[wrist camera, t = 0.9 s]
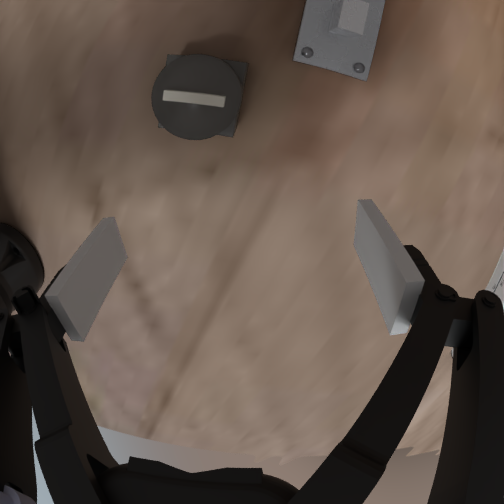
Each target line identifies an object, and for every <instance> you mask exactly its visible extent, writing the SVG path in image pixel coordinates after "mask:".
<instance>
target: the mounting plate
mask: <svg viewBox="0 0 504 504" xmlns="http://www.w3.org/2000/svg"><path fill="white" fill-rule="evenodd" d="M384 4H385V0H306V2H305V6H304V10H303V15H302V19H301V24H300V28H299V32H298V37H297V41H296V46H295V50H294V54H293V59H292V61H296V62H300V63H304V64H308V65H312V66H316V67H320V68H324V69H327V70H331V71H334V72H337V73H341V74H344V75H347V76H350V77H354V78H357V79H360V80H363V81H367V78H368V74H369V70H370V66H371V62H372V58H373V54H374V49H375V45H376V41H377V36H378V32H379V27H380V23H381V18H382V14H383V9H384Z"/></svg>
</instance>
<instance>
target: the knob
mask: <svg viewBox="0 0 504 504" xmlns="http://www.w3.org/2000/svg"><path fill="white" fill-rule="evenodd" d="M248 65H249V64H248V63H245V62H238V61H231V60H224V59H219V58H216V57H213V56H209V55H203V54H192V55H187V56H185V55H170V54H168V55H167V61H166V67H165V68H164V69H163V70H162V71H161V72H160V74H159V75H158V77H157V79H156V81H155V83H154V86H153V90H152V107H153V111H154V113H155V116H156V118H157V120H158V121H159V124H158V128H165V129H166V130H167V131H169V132H170V133H172V134H173V135H175V136H177V137H180V138H183V139H188V140H202V139H207V138H210V137H213V136H215V135H221V136H228V137H233V136H234V133H235V130H236V127H237V121H238V116H239V111H240V106H241V102H242V96H243V90H244V85H245V80H246V75H247V70H248Z"/></svg>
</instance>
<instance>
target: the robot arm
mask: <svg viewBox="0 0 504 504" xmlns="http://www.w3.org/2000/svg"><path fill="white" fill-rule="evenodd" d="M354 247H355V249H356V251H357V254H358V256H359V258H360V261H361V263H362V265H363V268H364V270H365V272H366V275H367V277H368V279H369V282H370V284H371V287H372V289H373V292H374V294H375V297H376V299H377V302H378V304H379V307H380V310H381V312H382V315H383V318H384V320H385V323H386V326H387V328H388V331H389V334H390V335H395V334H402V333H407V331H408V328H409V325H410V323H411V325H412V327H411V329H410V331H409V333H408V335H407V337H406V339H405V341H404V343H403V345H402V346H401V348H400V350H399V352H398V354H397V356H396V357H395V359H394V361H393V363H392V365H391V366H390V368H389V370H388V372H387V373H386V375H385V377H384V378H383V380H382V382H381V383H380V385H379V387H378V388H377V390H376V391H375V393H374V395H373V396H372V398H371V399H370V401H369V402H368V404H367V406H366V407H365V409H364V410H363V412H362V413H361V415H360V416H359V418H358V419H357V420H356V422H355V423H354V425H353V426H352V428H351V429H350V430H349V432H348V433H347V435H346V436H345V437H344V439H343V440H342V441H341V442H340V443H338V445H337V446H336V447H335V448H334V449H333V451H332V452H331V453H330V454H329V456H328V457H327V458H326V460H325V461H324V462H323V463H322V464H321V466H320V467H319V468H318V470H317V471H316V472H315V473H314V474H313V475H312V476H311V478H310V479H309V480H308V481H307V482H306V483H305V484H304V486H303V487H302V488H301V489H300V490H298V489H297V488H295V487H294V486H293V485H291V484H289V483H288V482H286V481H283V480H281V479H279V478H276V477H273V476H270V475H265V474H263V471H262V468H222V469H216V470H210V471H204V472H197V473H189V472H186V471H183V470H180V469H177V468H174V467H172V466H169V465H167V464H164V463H162V462H159V461H153V460H147V459H141V458H136V457H131V456H130V458H129V462H128V463H126V464H121V465H119V464H118V463H117V462H116V461H115V459H114V458H113V457H112V455H111V454H110V452H109V450H108V448H107V446H106V444H105V442H104V440H103V438H102V435H101V434H100V431H99V429H98V427H97V425H96V422H95V420H94V418H93V415H92V413H91V411H90V408H89V406H88V403H87V401H86V399H85V396H84V393H83V391H82V388H81V386H80V383H79V380H78V377H77V374H76V372H75V369H74V366H73V363H72V360H71V357H70V354H69V350H68V347H67V344H66V342H65V340H64V339H63V336H64V334H65V332H66V333H67V334H68V336H69V337H70V339H71V340H73V341H83V342H84V340H85V338H86V336H87V334H88V332H89V330H90V328H91V326H92V324H93V322H94V320H95V318H96V316H97V314H98V312H99V310H100V308H101V306H102V304H103V302H104V300H105V298H106V296H107V294H108V292H109V290H110V288H111V287H112V285H113V283H114V281H115V279H116V277H117V276H118V274H119V272H120V270H121V268H122V267H123V265H124V263H125V261H126V259H127V258H128V257H127V254H126V251H125V248H124V245H123V242H122V239H121V236H120V233H119V230H118V226H117V223H116V220H115V217H108V218H103V219H102V220H101V221H100V223H99V224H98V225H97V226H96V227H95V229H94V230H93V231H92V232H91V234H90V235H89V236H88V237H87V239H86V240H85V241H84V242H83V244H82V245H81V246H80V247H79V249H78V250H77V251H76V253H75V254H74V255H73V257H72V258H71V259H70V260H69V262H68V263H67V264H66V265H65V266H64V267H63V268H61V269H60V270H59V271H58V273H57V274H56V275H55V277H54V279H53V280H52V281H51V282H50V284H49V285H48V287H47V288H46V289H45V291H44V292H43V294H42V295H41V297H40V298H38V296H37V292H38V291H39V289H40V288H41V286H42V284H43V278H44V277H43V269H42V266H41V263H40V260H39V258H38V256H37V254H36V252H35V251H34V249H33V248H32V246H31V245H30V243H29V242H28V241H27V240H26V239H25V238H24V237H23V236H22V235H21V234H20V233H19V232H18V231H17V230H15V229H14V228H12V227H10V226H8V225H6V224H2V223H0V504H37V484H36V474H35V464H34V453H33V437H32V408H33V412H34V416H35V420H36V424H37V428H38V432H39V435H40V439H39V440H37V441H36V442H35V444H34V445H35V451H36V454H37V457H38V461H39V464H40V467H41V470H42V473H43V475H44V478H45V481H46V484H47V487H48V489H49V492H50V495H51V497H52V499H53V502H54V504H363V502H364V501H365V500H366V498H367V497H368V495H369V494H370V492H371V491H372V490H373V488H374V487H375V485H376V484H377V482H378V481H379V479H380V478H381V476H382V475H383V473H384V471H385V469H386V465H387V463H388V461H389V459H390V458H391V456H392V454H393V453H394V451H395V449H396V448H397V446H398V444H399V442H400V441H401V439H402V437H403V435H404V433H405V432H406V430H407V428H408V426H409V424H410V422H411V420H412V418H413V416H414V414H415V412H416V410H417V408H418V406H419V404H420V402H421V400H422V398H423V396H424V394H425V392H426V389H427V387H428V385H429V383H430V380H431V378H432V376H433V373H434V371H435V368H436V366H437V364H438V361H439V359H440V356H441V353H442V351H443V348H444V346H449V347H453V365H452V378H451V389H450V398H449V406H448V413H447V420H446V426H445V432H444V438H443V443H442V448H441V453H440V458H439V462H438V466H437V470H436V474H435V478H434V482H433V486H432V489H431V493H430V496H429V499H428V503H427V504H504V309H503V304H502V301H501V299H500V298H499V297H498V296H497V295H496V294H495V293H493V292H491V291H488V290H481V291H478V293H477V294H476V296H475V298H474V299H469V298H462V297H459V296H458V293H457V292H456V291H455V290H454V289H453V288H452V287H450V286H448V285H445V284H441V282H440V281H439V279H438V278H437V276H436V274H435V273H434V271H433V270H432V268H431V267H430V266H429V264H428V262H427V261H426V260H425V258H424V256H423V255H422V253H421V252H420V251H419V250H418V249H417V248H415V247H414V246H413V245H403V244H402V243H401V241H400V240H399V238H398V237H397V235H396V234H395V232H394V231H393V229H392V228H391V226H390V225H389V223H388V222H387V220H386V219H385V218H384V216H383V215H382V213H381V212H380V210H379V209H378V208H377V206H376V205H375V203H374V202H373V201H372V199H367V200H358V205H357V216H356V227H355V237H354ZM15 309H16V311H17V312H18V314H16V315H11V313H12V312H13V311H14V310H15ZM9 352H10V353H11V357H10V355H9Z"/></svg>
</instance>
